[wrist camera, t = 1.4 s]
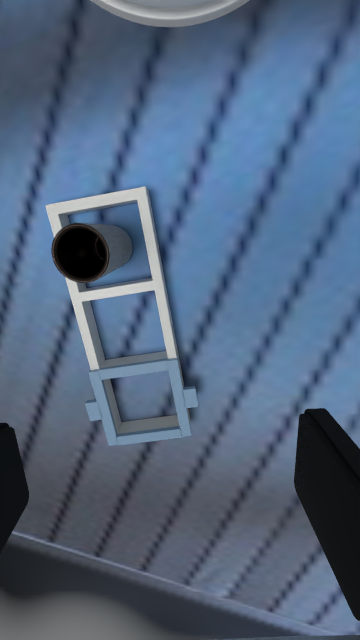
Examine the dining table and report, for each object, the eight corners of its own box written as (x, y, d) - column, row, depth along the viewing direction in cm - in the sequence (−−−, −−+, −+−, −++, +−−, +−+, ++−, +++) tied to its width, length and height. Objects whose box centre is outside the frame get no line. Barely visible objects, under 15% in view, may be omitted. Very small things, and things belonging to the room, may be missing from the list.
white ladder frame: (162, 187, 31) (160, 182, 28) (201, 419, 39) (203, 434, 36) (42, 209, 32) (27, 207, 29) (104, 431, 40) (98, 447, 37)
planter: (121, 218, 32) (92, 212, 22) (140, 258, 33) (119, 269, 23) (84, 235, 32) (39, 237, 23) (103, 273, 34) (68, 292, 24)
